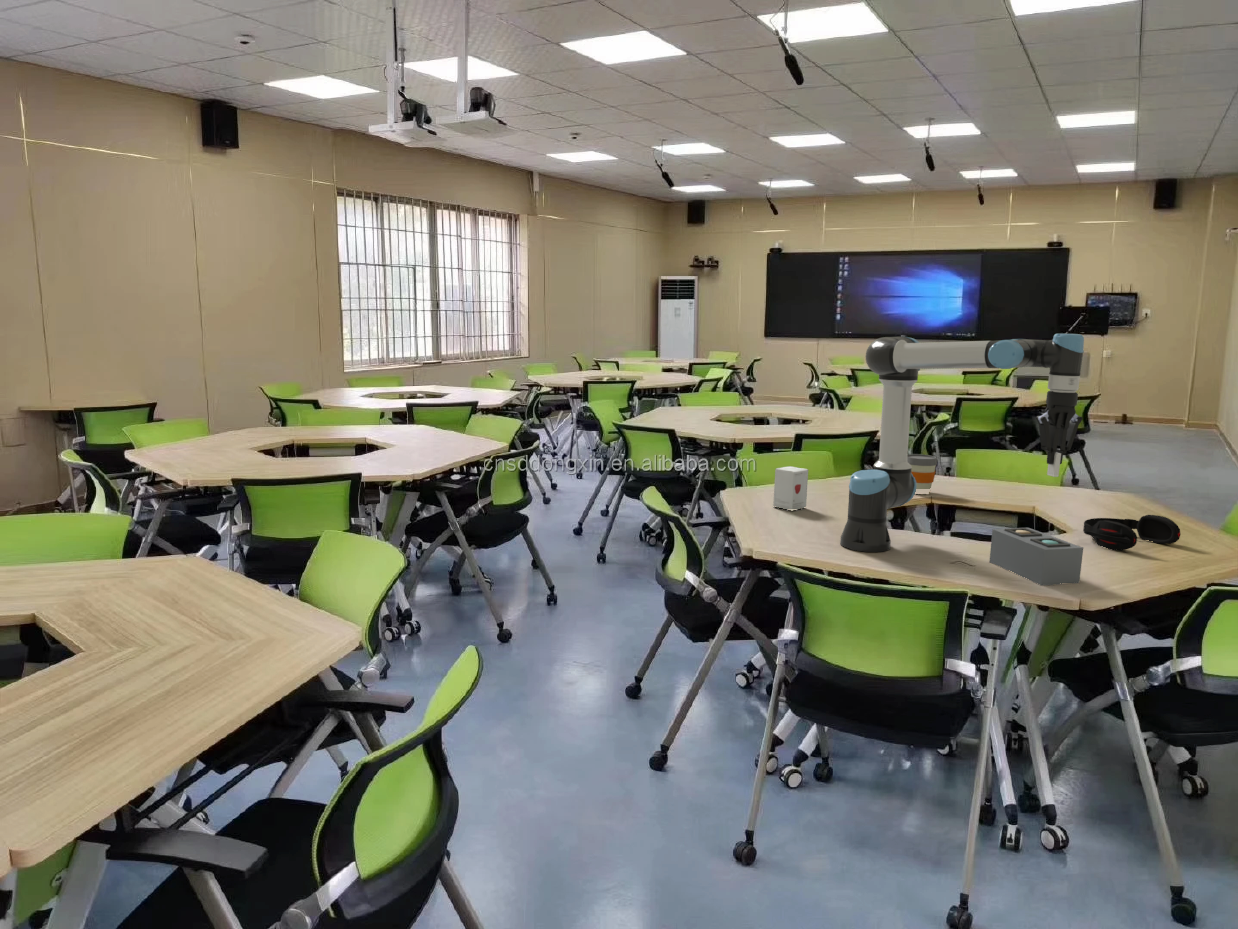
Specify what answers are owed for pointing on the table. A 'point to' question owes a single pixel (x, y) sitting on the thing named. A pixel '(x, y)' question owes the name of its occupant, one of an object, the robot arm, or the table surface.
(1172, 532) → the headset
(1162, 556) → the table surface
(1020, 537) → the socket block
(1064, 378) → the robot arm
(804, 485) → the supplement box
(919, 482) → the reusable coffee cup
